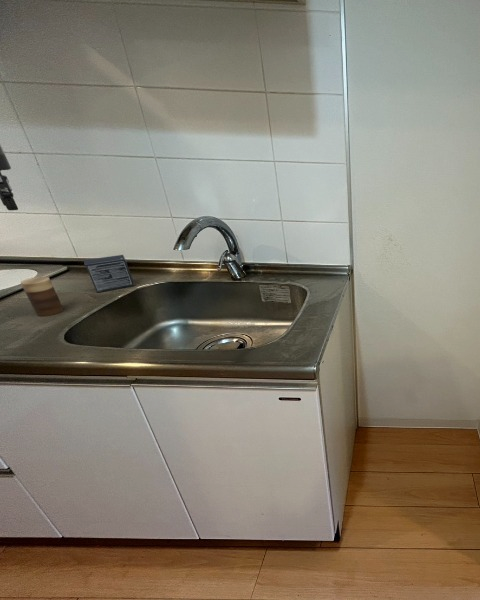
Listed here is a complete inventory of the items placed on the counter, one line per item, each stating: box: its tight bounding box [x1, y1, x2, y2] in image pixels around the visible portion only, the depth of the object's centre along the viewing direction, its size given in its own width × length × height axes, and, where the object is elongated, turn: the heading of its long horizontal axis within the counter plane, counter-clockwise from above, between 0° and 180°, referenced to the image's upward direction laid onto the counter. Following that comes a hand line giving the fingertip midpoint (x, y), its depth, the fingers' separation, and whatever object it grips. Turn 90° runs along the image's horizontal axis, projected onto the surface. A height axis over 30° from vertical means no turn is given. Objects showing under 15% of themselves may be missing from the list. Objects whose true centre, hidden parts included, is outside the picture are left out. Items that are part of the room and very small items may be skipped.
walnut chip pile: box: [24, 286, 64, 317], centre depth 91 cm, size 6×6×8 cm
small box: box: [83, 254, 136, 293], centre depth 108 cm, size 11×6×10 cm, turn 134°
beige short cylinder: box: [20, 276, 54, 293], centre depth 89 cm, size 6×6×3 cm
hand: (11, 207), depth 98 cm, fingers open, 8 cm apart
